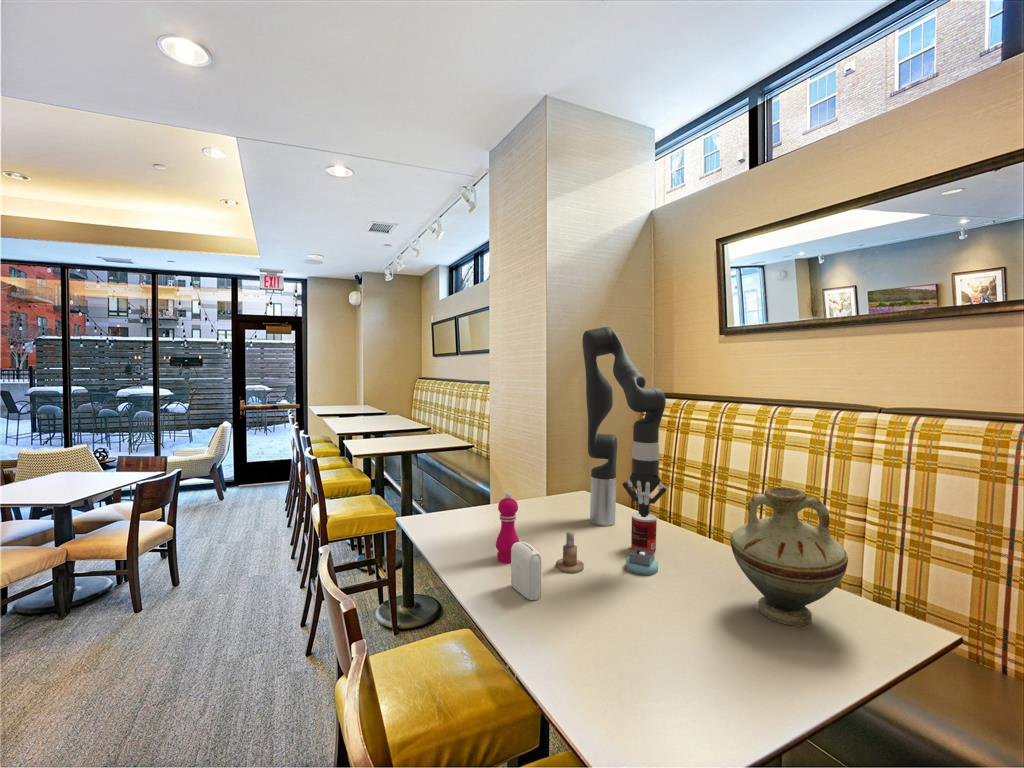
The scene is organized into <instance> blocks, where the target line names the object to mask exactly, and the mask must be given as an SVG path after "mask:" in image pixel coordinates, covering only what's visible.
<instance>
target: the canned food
mask: <svg viewBox="0 0 1024 768" xmlns="http://www.w3.org/2000/svg"><path fill="white" fill-rule="evenodd" d="M657 521H658V520H657V516H656V515H655V514H653V513H649V515H648V516H647V517H641V515H640V514H639V512H635V513H633V514H631V537H630V538H631V539H630V540H631V541H630V543H631V545H630V546H631V551H632V550H633V549H634V548H639V549H644V550H649V551H654V552H655V553H656V549H657V527H658V525H657V524H658V523H657Z"/></svg>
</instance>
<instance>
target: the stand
mask: <svg viewBox="0 0 1024 768" xmlns="http://www.w3.org/2000/svg"><path fill="white" fill-rule="evenodd" d="M565 543H566V544H564V545H562V558H560V559H558V560H557V561H555V568H556V570H558V571H560V572H563V573H566V574H567V573H568V574H577V573H578V574H579V573H581V572H582V571H584V567H585V566H584V565H585V564H584V562H583V561H582V560H580V559H578V546H577V545H575V533H574V531H567V532H566V539H565Z"/></svg>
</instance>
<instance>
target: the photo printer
mask: <svg viewBox="0 0 1024 768" xmlns="http://www.w3.org/2000/svg"><path fill="white" fill-rule="evenodd" d="M510 584H511V587H512V588H513V589H514V590H516V592H517V593H519V594H520V595H522V596H523V598H525V599H527V600H530V601H536V600H539V599H540V597H542V556H541V555H540V553H539V552H538V550H537V549H536V548H535V547H534V546H533V545H531V544H529V543H527V542H525V541H519V542H516V543H514V544H513V546H512V548H511V563H510Z"/></svg>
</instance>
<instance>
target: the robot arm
mask: <svg viewBox="0 0 1024 768" xmlns="http://www.w3.org/2000/svg"><path fill="white" fill-rule="evenodd" d="M581 343H582V350H583V352H582V353H583V360H584V369H585V391H586V392H585V393H586V394H585V395H586V412H587V453H588V456H589V457H590V458H592V459H599V460H600V459H601V460H607V461H606V462H605V463H603V464H601V465H599V466H595V467H593V468H592V469H591V472H590V474H591V475H590V476H591V477H590V499H589V500H590V502H589V503H590V508H589V509H590V510H589V518H590V523H592V524H594V525H597V526H605V527H607V526H608V527H609V526H613V525H615V524H616V501H617V500H616V499H617V498H616V496H617V495H616V494H617V454H618V439H617V436H616V435H615V434H604V433H598V429H599V428H600V425H601V424H602V422H603V421H604V419H605V418H606V417H607V416H608V414H610V412H611V411H612V408H613V403H614V400H613V399H614V395H613V386H612V384H611V383H610V382H609V381H608V379H607V378H606V377H605V376H604V375H603V373H602V372H601V370H600V368H599V366H598V361H597V358H598V357H600V356H605V355H609V354H611V355H613V356H614V362H613V367H612V373H613V376H614V378H615V380H616V381H617V383H618V384H619V386H620V387H621V388H622V391H623V393H624V395H625V396H624V397H625V400H626V403H627V406H628V408H629V409H631V411H633V412H635V413H646V414H645V416H644V417H643V418H642V419H639V420H636V421H634V423H633V427H632V428H633V429H632V431H633V432H632V447H631V474H630V476H629V479H628V480H625V481H623V483H622V487H623V488H624V490H625V491H626V492H627V494H628V495H629V497H630V498H631V500H632V501H633V502H637V503H638V513H639V514H640V515H641V517H647V516H648V515H649V514H651V512H650V509H651V504H653V505H654V504H656V503H657V501H658V500H659V499H660V498H661V497H662V496H663V495H664V494H665V493H666V492H667V490H668V489H669V487H668V486H666V485H664V484H663V483H662V482H661V477H660V475H659V473H660V472H659V471H660V444H659V441H660V439H659V436H660V435H659V433H660V431H659V430H660V426H661V421H662V418H663V415H664V411H665V408H666V404H667V403H666V402H667V399H666V395H665V393H664V391H663V390H662V389H661V388H659V387H645V386H646V378H645V376H643V374H642V373H641V371H640V369H638V368H637V367H636V365H635V364H634V363H633V362H632V360H631V358H630V357H629V355H628V353H627V350H626V348H625V347H624V345H623V342H622V340H621V339H620V337H619V335H618V334H617V332H616V331H615V329H613V327H610V326H603V327H599V328H592V329H588V330H586V331H584V332H583V334H582V342H581ZM633 487H634V488H633ZM657 487H658V488H657ZM656 488H657V491H658V492H656V494H655V495H654V496H653V497H652V493H653V492H654V491H655V489H656ZM634 489H635V490H636V491H637V493H636V491H635V490H634Z"/></svg>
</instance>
